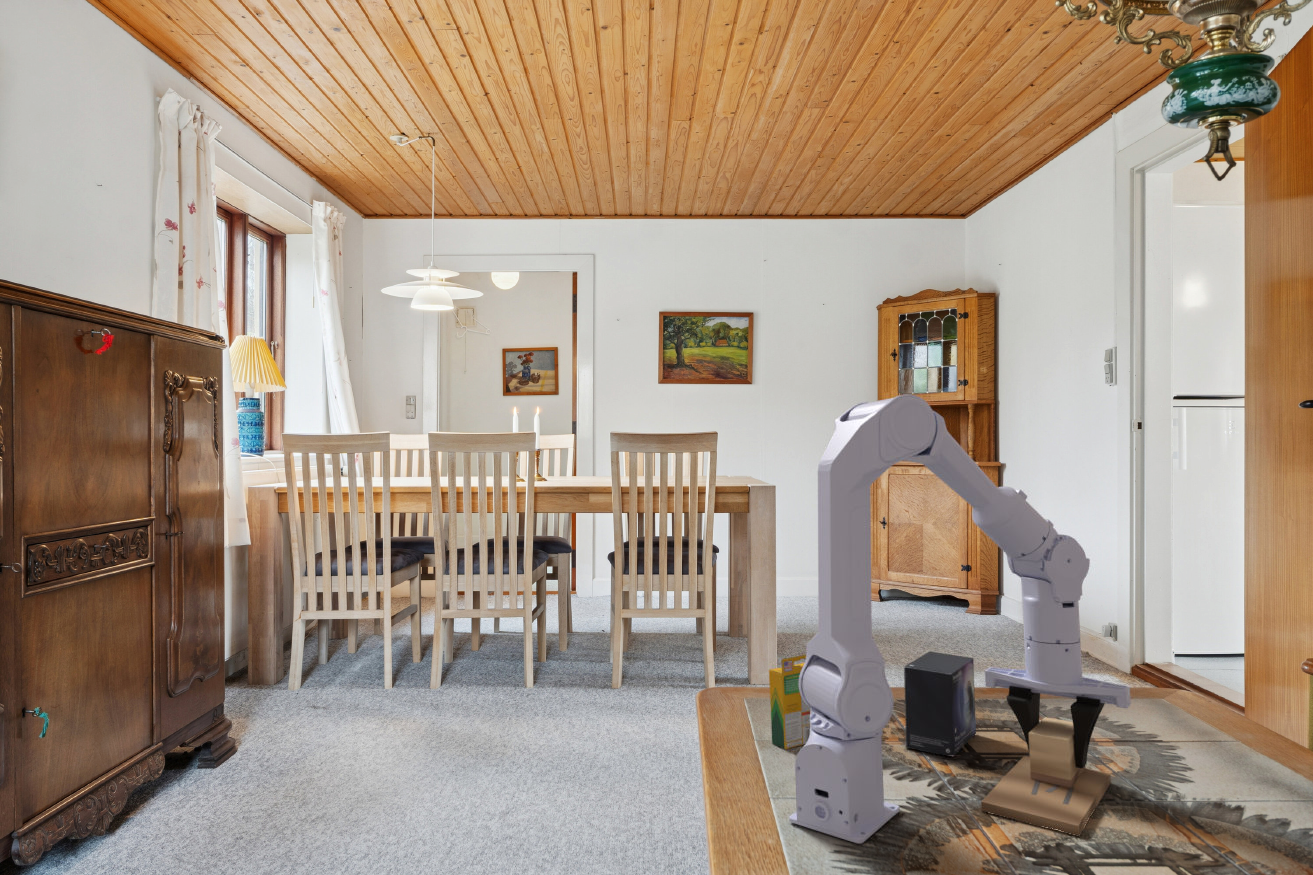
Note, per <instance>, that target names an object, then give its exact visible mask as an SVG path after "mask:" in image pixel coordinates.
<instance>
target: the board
mask: <svg viewBox="0 0 1313 875" xmlns="http://www.w3.org/2000/svg"><path fill="white" fill-rule="evenodd" d="M1111 778H1112V777H1111V773H1109V772H1105V771H1100V770H1096V769H1095V770H1094V769H1090V768H1086V767H1085V769H1084V771H1083V772H1082V774H1081V775H1080V776H1079V778H1078V779H1077V780H1076V782H1075V783H1074V785H1073V786H1072V787H1071V788H1069V787H1065V786H1060V785H1056V784H1051V783H1047V782H1042V781H1038V780H1033V779H1031V772H1030V756H1027V755H1023V756H1022V757H1021V759H1020V760H1018V762H1017V763H1016V764H1015V765H1014V766H1013V767H1012V768H1011V769H1010V770H1009V771H1008V772H1007V773H1006V774H1005V775H1004V777H1002V779H1000V781H999V782H998V783H997V784H996V785H995V786H994V787H993V788H992V789H991V790H990V791H989V792H988V794H987V795H986V796H985V797H983V799H982V800H981V802H980V806H981V807H980V808H981V812H982V811H986V812H990V813H994V814H997V815H1001V816H1005V817H1008V818H1007V819H1009V818H1013V819H1016V820H1015V821H1017V820H1019V821H1018V822H1020V821H1022V823H1024V822H1026V823H1025V824H1028V823H1031V824H1030V825H1032V824H1034V825H1033V826H1036V825H1038V826H1037V827H1040V826H1044V827H1048V828H1051V829H1052V828H1053V829H1058V830H1061V831H1064V832H1067V833H1071V834H1075V835H1078V836H1079V834H1080V833H1081V834H1082V832H1083V830H1084V829H1085V827H1086V825H1087V824H1086V822H1087V820H1088V818H1089V817H1090V815H1091V813H1092V812H1093V810H1094V809H1095V807H1096V805H1097V804H1098V805H1099V803H1100V802H1101V800H1102V799H1103V797H1104V795H1105V793H1106V792H1107V790H1108V789H1109V786H1110V785H1111V783H1112V782H1111V781H1112V779H1111ZM1099 801H1100V802H1099ZM1098 805H1097V806H1098ZM1096 808H1097V807H1096ZM1095 810H1096V809H1095ZM1095 810H1094V811H1095ZM986 812H985V813H986ZM990 813H989V814H990ZM1093 813H1094V812H1093ZM997 815H996V816H997ZM1001 816H1000V817H1001ZM1091 816H1092V815H1091ZM1005 817H1004V818H1005ZM1090 818H1091V817H1090ZM1013 819H1012V820H1013ZM1088 821H1089V820H1088ZM1087 823H1088V822H1087ZM1085 824H1086V825H1085ZM1084 826H1085V827H1084ZM1044 827H1043V828H1044ZM1083 828H1084V829H1083ZM1051 829H1050V830H1051ZM1082 829H1083V830H1082ZM1081 831H1082V832H1081ZM1067 833H1066V834H1067ZM1071 834H1070V835H1071ZM1081 834H1080V835H1081ZM1075 835H1074V836H1075ZM1078 836H1077V837H1078ZM1079 837H1080V836H1079Z"/></svg>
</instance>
